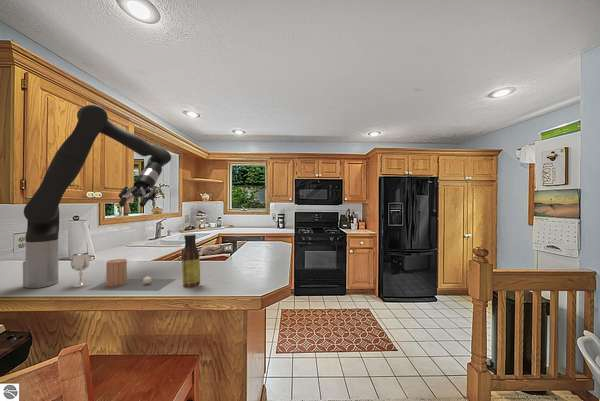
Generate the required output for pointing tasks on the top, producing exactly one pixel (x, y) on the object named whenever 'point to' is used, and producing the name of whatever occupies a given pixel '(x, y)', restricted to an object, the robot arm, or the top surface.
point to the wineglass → (80, 265)
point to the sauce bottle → (190, 262)
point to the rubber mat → (136, 285)
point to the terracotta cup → (116, 272)
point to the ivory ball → (147, 280)
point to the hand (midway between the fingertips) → (130, 205)
